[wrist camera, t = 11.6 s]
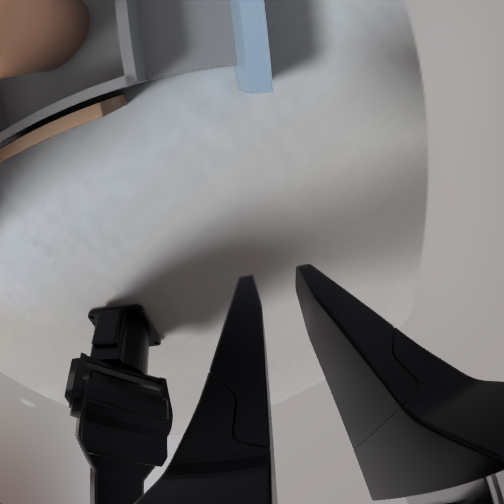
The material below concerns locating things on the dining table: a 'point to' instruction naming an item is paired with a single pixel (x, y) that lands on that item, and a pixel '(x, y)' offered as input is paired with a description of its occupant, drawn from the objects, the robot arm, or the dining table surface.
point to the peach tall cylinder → (40, 34)
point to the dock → (62, 125)
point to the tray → (144, 54)
